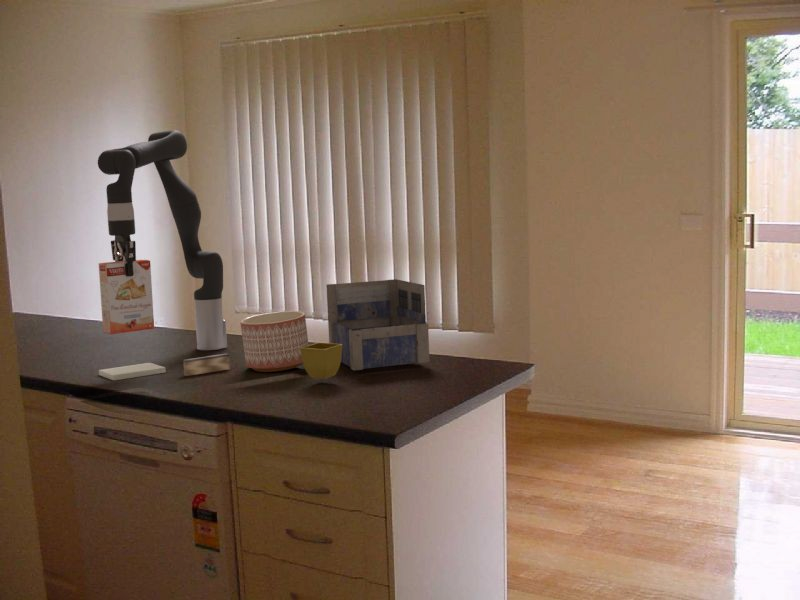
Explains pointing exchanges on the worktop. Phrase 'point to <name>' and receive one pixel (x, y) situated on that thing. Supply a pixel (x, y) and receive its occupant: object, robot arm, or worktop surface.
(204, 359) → the tear rail
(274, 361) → the planter
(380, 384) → the worktop surface
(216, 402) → the worktop surface
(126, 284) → the cracker box
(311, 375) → the flower pot
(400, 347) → the building
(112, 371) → the plate
